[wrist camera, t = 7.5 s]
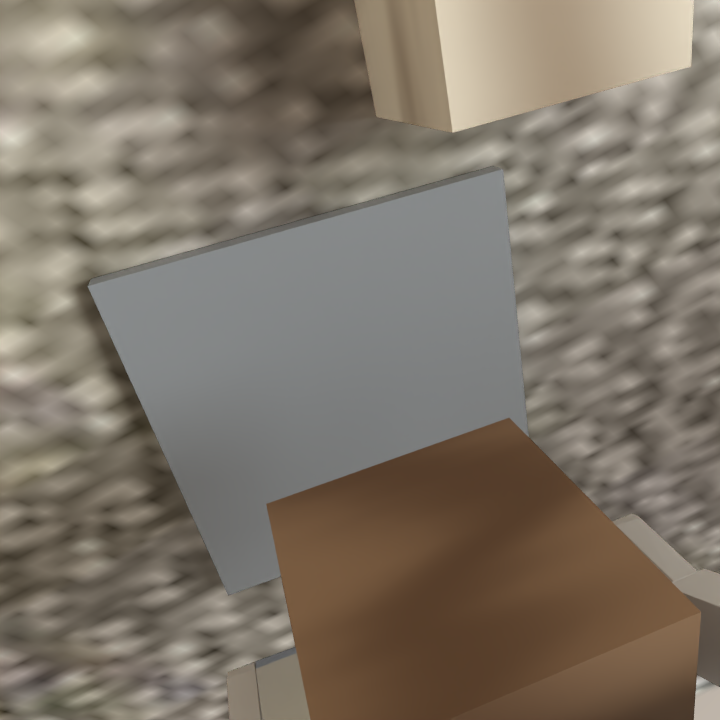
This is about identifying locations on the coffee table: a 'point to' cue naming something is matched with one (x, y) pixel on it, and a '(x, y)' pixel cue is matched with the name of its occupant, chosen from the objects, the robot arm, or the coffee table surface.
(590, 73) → the beech cube
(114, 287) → the pad
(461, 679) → the walnut cube
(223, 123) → the coffee table surface
